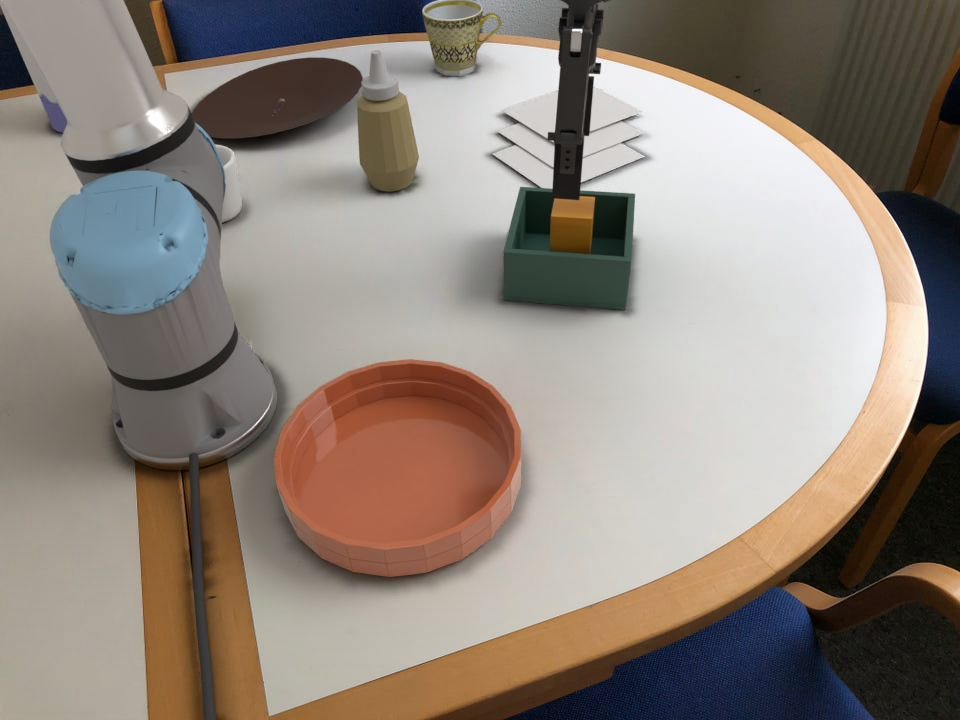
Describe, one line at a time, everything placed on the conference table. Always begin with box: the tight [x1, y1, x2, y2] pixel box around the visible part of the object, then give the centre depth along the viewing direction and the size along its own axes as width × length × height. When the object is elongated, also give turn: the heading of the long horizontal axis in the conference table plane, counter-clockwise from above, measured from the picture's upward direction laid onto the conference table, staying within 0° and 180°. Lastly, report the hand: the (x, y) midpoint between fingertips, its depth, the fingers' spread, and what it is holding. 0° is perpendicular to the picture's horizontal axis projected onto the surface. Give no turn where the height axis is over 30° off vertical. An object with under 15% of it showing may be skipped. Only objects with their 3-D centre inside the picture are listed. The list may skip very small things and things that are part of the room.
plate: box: [191, 56, 364, 139], centre depth 126 cm, size 28×28×4 cm
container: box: [0, 0, 67, 134], centre depth 120 cm, size 10×10×20 cm
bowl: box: [273, 358, 522, 578], centre depth 70 cm, size 21×21×4 cm
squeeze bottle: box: [356, 49, 420, 193], centre depth 103 cm, size 8×8×18 cm
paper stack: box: [492, 85, 645, 189], centre depth 117 cm, size 23×25×1 cm
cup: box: [215, 144, 243, 223], centre depth 101 cm, size 11×8×8 cm
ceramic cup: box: [421, 0, 502, 77], centre depth 133 cm, size 13×10×10 cm
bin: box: [502, 186, 636, 311], centre depth 91 cm, size 14×14×7 cm
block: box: [550, 196, 595, 254], centre depth 90 cm, size 4×4×8 cm
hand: (571, 164), depth 84 cm, fingers open, 13 cm apart
